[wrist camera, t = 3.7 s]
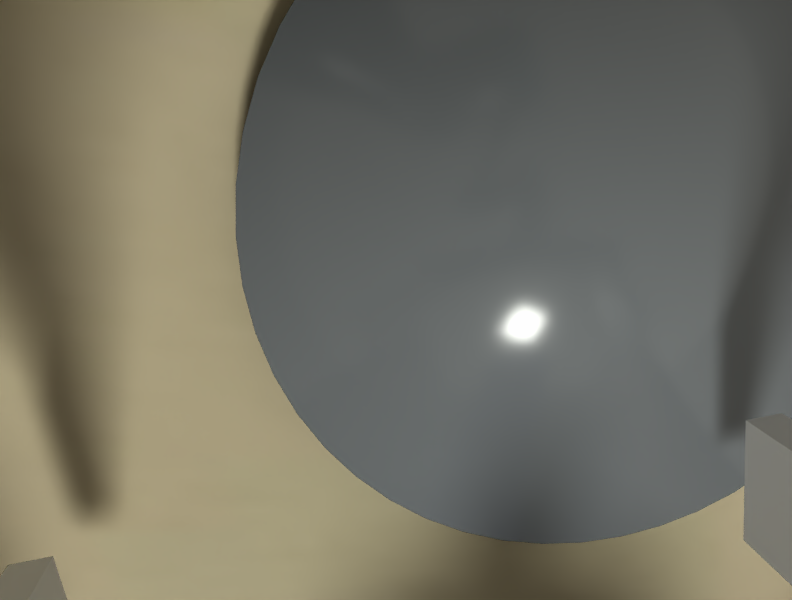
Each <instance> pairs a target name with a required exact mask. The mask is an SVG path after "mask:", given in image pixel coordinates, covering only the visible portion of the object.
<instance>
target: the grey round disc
mask: <svg viewBox="0 0 792 600" xmlns="http://www.w3.org/2000/svg"><path fill="white" fill-rule="evenodd" d="M236 241H237V248H238V256H239V263H240V271H241V278H242V286H243V289H244V293H245V297H246V300H247V304H248V308H249V311H250V315H251V318H252V322H253V326H254V329H255V333H256V335H257V337H258V340H259V342H260V344H261V347H262V349H263V351H264V354H265V356H266V358H267V361H268V363H269V365H270V367H271V370H272V372H273V374H274V376H275V378H276V380H277V381H278V383H279V385H280V386H281V388H282V390H283V391H284V393H285V394H286V396H287V398H288V399H289V401H290V403H291V404H292V406H293V408H294V409H295V411H296V413H297V414H298V415H299V417H300V418H301V419H302V420H303V421H304V423H305V424H306V425H307V426H308V428H309V429H310V430H311V431H312V432H313V434H314V435H315V436H316V437H317V439H318V440H319V441H320V442H321V443H322V445H323V446H324V447H325V448H326V449H327V450H328V451H329V452H330V453H331V454H332V455H333V456H335V457H336V458H337V459H338V460H339V461H340V462H341V463H342V464H343V465H344V466H345V467H346V468H347V469H349V470H350V471H351V472H352V473H353V474H354V475H355V476H356V477H358V478H359V479H360V480H362V481H363V482H365V483H366V484H368V485H369V486H371V487H372V488H373V489H375V490H376V491H378V492H379V493H381V494H382V495H383V496H385V497H386V498H388V499H389V500H391V501H393V502H395V503H397V504H399V505H401V506H403V507H405V508H407V509H408V510H410V511H412V512H414V513H416V514H418V515H420V516H422V517H424V518H426V519H429V520H432V521H434V522H437V523H440V524H443V525H446V526H449V527H451V528H454V529H457V530H460V531H463V532H467V533H471V534H476V535H481V536H485V537H490V538H494V539H499V540H505V541H517V542H528V543H540V544H548V543H578V542H587V541H594V540H601V539H607V538H614V537H621V536H624V535H628V534H632V533H636V532H639V531H643V530H647V529H650V528H654V527H658V526H661V525H664V524H666V523H669V522H671V521H674V520H676V519H679V518H681V517H684V516H687V515H689V514H692V513H694V512H697V511H699V510H701V509H703V508H705V507H707V506H708V505H710V504H712V503H714V502H716V501H718V500H720V499H722V498H724V497H726V496H728V495H730V494H732V493H734V492H735V491H737V490H738V489H740V488H741V487H743V486H744V485H745V433H746V420H750V419H755V418H760V417H765V416H770V415H775V414H780V413H782V414H784V415H786V416H787V417H789V418H791V419H792V0H294V2H293V4H292V5H291V7H290V9H289V11H288V12H287V14H286V16H285V17H284V19H283V21H282V22H281V24H280V26H279V28H278V31H277V33H276V36H275V38H274V40H273V43H272V45H271V47H270V50H269V52H268V54H267V57H266V59H265V62H264V64H263V66H262V69H261V71H260V73H259V76H258V79H257V82H256V86H255V89H254V93H253V97H252V100H251V104H250V108H249V111H248V115H247V119H246V122H245V126H244V130H243V136H242V143H241V150H240V158H239V165H238V173H237V180H236Z"/></svg>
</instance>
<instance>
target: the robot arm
mask: <svg viewBox="0 0 792 600" xmlns="http://www.w3.org/2000/svg"><path fill="white" fill-rule="evenodd" d="M744 541H745V542H746V543H747V544H748V545H749V546H750V547H751V548H753V549H754V550H755V551H756V552H757V553H758V554H759V555H760V556H761V557H762V558H763V559H764V560H765V561H766V562H767V563H768V564H769V565H771V566H772V567H773V568H774V569H775V570H776V571H777V572H778V573H779V574H780V575H781V576H782V577H783V578H784V579H785V580H786V581H787V582H789V583H790V584H791V585H792V419H791V418H789V417H787V416H786V415H784V414H782V413H780V414H775V415H770V416H765V417H760V418H755V419H750V420H746V433H745V489H744ZM0 600H67V597H66V594H65V591H64V588H63V585H62V582H61V579H60V576H59V573H58V570H57V567H56V564H55V561H54V558H53V556H52V557H47V558H42V559H37V560H32V561H26V562H21V563H16V564H11V565H8V566H7V567H6V569H5V570H4V572H3V573H2V575H1V576H0Z"/></svg>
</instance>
